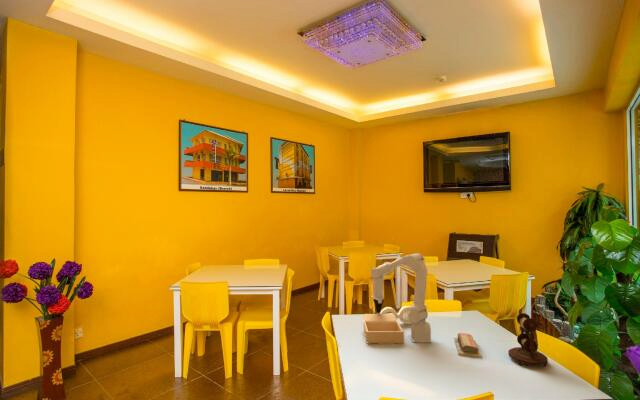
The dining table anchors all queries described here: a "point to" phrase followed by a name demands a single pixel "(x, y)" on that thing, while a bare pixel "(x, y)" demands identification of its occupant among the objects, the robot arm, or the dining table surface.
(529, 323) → the brown figurine statuette
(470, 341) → the packaged product
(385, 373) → the dining table surface
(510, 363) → the dining table surface
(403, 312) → the letter
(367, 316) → the carton flap
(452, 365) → the dining table surface
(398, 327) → the carton
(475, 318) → the dining table surface
